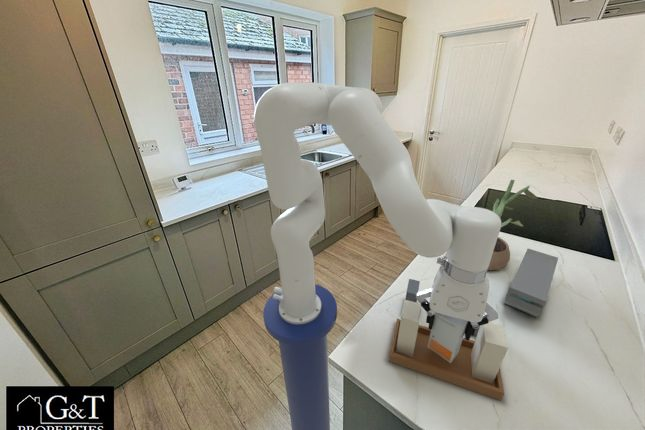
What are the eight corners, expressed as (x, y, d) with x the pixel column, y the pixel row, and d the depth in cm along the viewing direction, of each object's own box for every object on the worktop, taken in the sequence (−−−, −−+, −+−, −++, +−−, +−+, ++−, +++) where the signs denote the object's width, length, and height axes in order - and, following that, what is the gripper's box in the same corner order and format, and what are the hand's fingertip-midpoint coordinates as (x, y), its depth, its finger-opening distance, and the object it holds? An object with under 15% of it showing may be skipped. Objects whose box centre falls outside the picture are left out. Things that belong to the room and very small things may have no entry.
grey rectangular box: (531, 331, 70) (546, 301, 65) (498, 316, 75) (509, 287, 70) (546, 284, 86) (558, 257, 81) (517, 274, 91) (527, 248, 86)
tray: (388, 361, 64) (389, 354, 63) (396, 325, 73) (397, 318, 72) (500, 400, 55) (504, 393, 54) (493, 354, 65) (495, 347, 64)
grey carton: (403, 315, 76) (406, 292, 72) (405, 301, 81) (409, 278, 77) (413, 318, 75) (417, 294, 71) (415, 303, 80) (419, 281, 76)
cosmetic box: (426, 347, 64) (434, 312, 59) (434, 337, 66) (443, 302, 61) (451, 364, 60) (462, 328, 55) (459, 353, 62) (470, 317, 57)
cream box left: (395, 351, 65) (401, 317, 60) (399, 332, 70) (404, 299, 65) (412, 357, 64) (419, 322, 59) (415, 337, 69) (421, 303, 64)
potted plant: (496, 280, 88) (524, 199, 75) (447, 256, 102) (463, 183, 88) (525, 257, 100) (554, 182, 86) (477, 237, 113) (496, 170, 100)
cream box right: (472, 377, 59) (485, 341, 54) (470, 354, 64) (482, 319, 59) (492, 384, 58) (508, 347, 52) (489, 360, 63) (503, 325, 57)
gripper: (417, 269, 52) (406, 330, 60) (520, 291, 46) (494, 357, 54) (420, 249, 58) (410, 307, 66) (512, 266, 52) (489, 329, 60)
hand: (448, 329), depth 60 cm, fingers closed on cosmetic box, 7 cm apart
